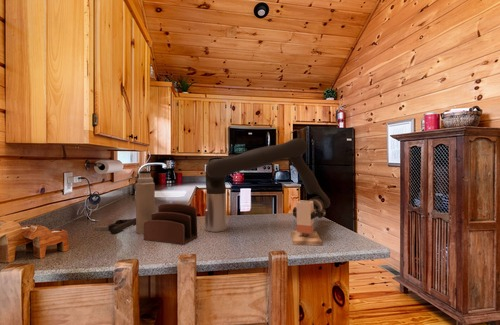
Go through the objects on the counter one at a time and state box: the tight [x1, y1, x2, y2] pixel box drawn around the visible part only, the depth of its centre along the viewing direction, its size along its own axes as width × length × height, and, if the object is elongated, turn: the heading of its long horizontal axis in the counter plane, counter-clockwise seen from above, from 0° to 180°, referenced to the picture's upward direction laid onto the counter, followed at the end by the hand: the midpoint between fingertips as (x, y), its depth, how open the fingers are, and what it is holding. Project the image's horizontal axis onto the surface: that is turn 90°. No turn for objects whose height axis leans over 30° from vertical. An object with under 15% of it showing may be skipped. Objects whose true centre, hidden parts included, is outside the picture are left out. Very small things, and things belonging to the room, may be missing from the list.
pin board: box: [290, 230, 323, 246], centre depth 99 cm, size 11×14×6 cm
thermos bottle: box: [135, 170, 156, 235], centre depth 112 cm, size 8×8×28 cm
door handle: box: [93, 217, 136, 235], centre depth 119 cm, size 3×20×16 cm
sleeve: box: [296, 199, 315, 234], centre depth 99 cm, size 6×6×12 cm
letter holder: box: [143, 203, 198, 246], centre depth 102 cm, size 10×20×14 cm, turn 70°
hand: (303, 216), depth 97 cm, fingers closed on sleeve, 5 cm apart
